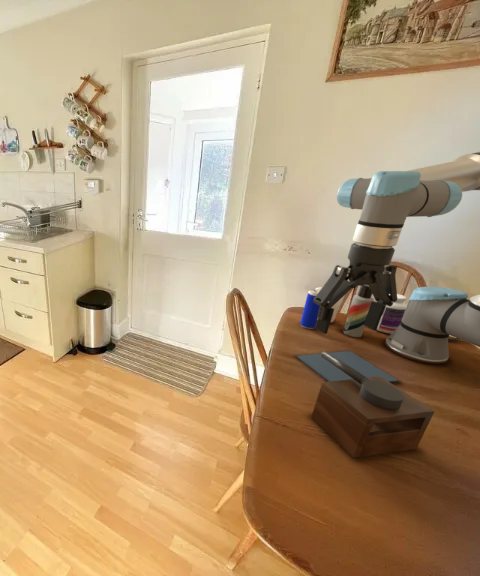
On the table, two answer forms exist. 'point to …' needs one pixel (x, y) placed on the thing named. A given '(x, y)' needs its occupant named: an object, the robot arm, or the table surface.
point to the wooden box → (369, 419)
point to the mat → (347, 357)
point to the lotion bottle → (358, 312)
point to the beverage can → (310, 311)
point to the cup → (334, 306)
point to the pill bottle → (392, 315)
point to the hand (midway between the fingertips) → (345, 329)
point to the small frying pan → (370, 386)
